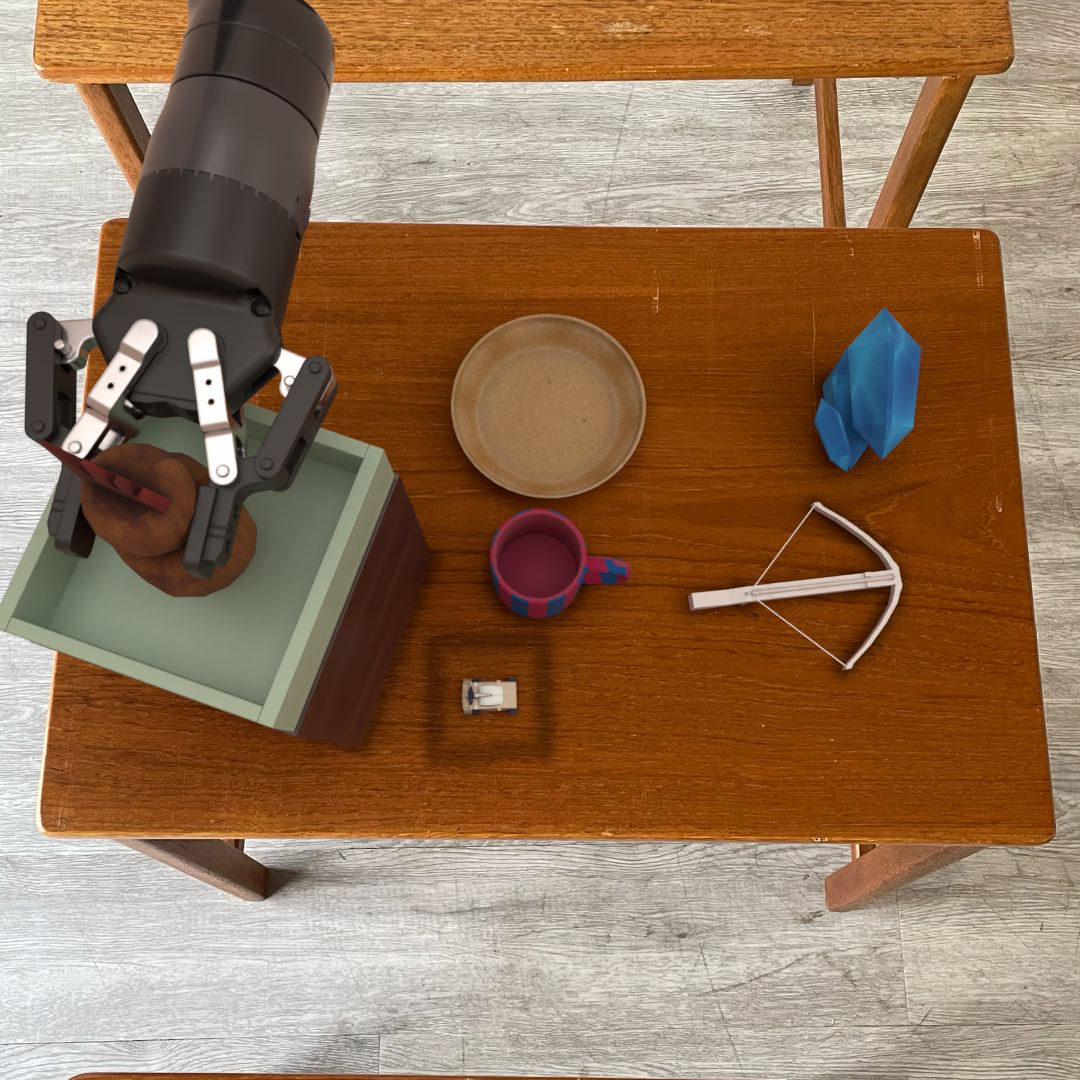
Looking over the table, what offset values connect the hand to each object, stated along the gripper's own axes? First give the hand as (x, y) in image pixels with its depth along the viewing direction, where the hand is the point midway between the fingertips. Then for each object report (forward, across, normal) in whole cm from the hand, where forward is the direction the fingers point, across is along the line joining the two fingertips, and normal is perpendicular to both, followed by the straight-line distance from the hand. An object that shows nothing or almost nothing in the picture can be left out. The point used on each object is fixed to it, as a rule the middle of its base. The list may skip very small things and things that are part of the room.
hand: (135, 562), depth 45 cm
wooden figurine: (-3, 0, +9) cm, 9 cm away
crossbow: (-10, +36, +33) cm, 50 cm away
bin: (-3, 0, +11) cm, 11 cm away
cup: (-8, +18, +33) cm, 39 cm away
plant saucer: (-21, +16, +33) cm, 42 cm away
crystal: (-25, +38, +33) cm, 57 cm away
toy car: (+1, +15, +33) cm, 36 cm away
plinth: (-2, 0, +33) cm, 33 cm away
